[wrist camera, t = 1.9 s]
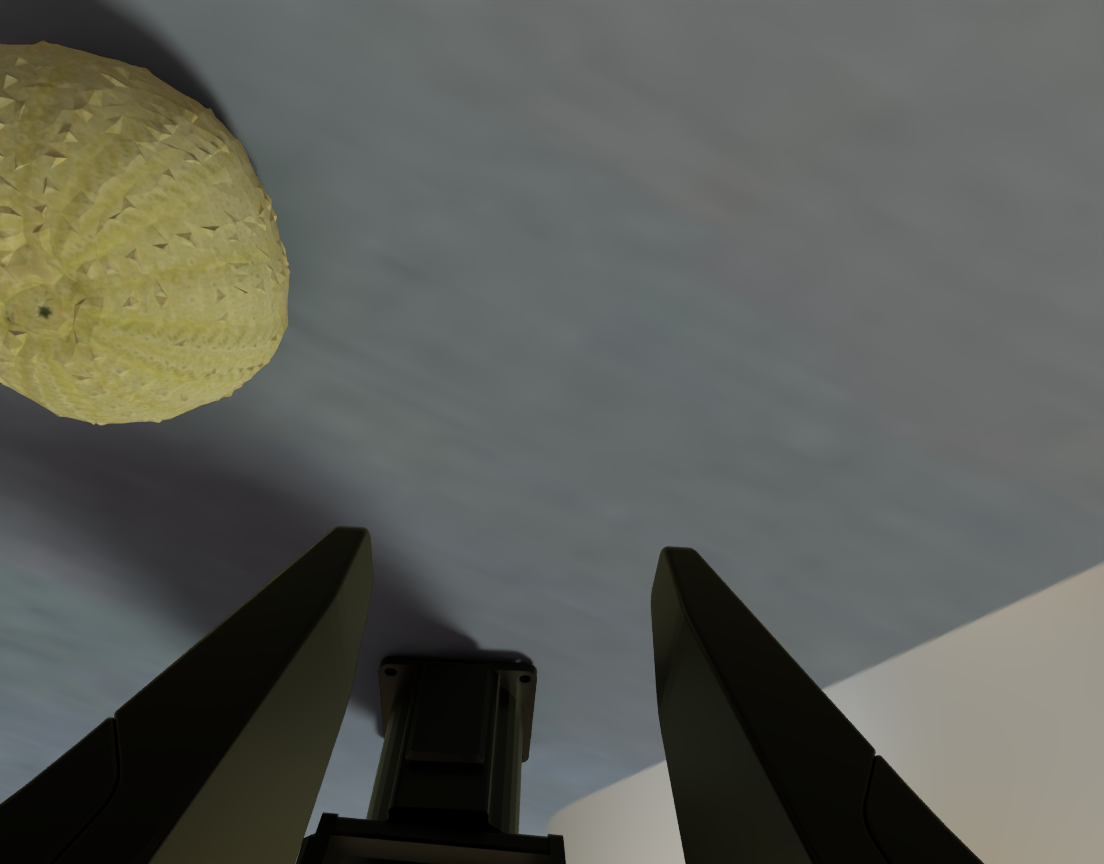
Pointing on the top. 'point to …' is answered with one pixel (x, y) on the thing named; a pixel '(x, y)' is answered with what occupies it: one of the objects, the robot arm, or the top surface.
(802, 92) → the top surface
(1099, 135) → the top surface
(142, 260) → the sea urchin shell
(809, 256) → the top surface
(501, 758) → the robot arm
